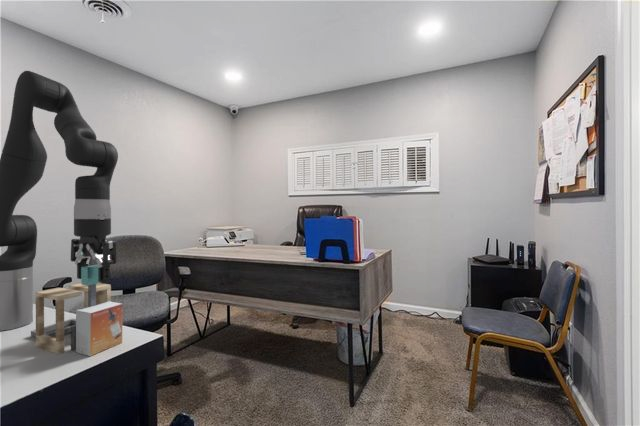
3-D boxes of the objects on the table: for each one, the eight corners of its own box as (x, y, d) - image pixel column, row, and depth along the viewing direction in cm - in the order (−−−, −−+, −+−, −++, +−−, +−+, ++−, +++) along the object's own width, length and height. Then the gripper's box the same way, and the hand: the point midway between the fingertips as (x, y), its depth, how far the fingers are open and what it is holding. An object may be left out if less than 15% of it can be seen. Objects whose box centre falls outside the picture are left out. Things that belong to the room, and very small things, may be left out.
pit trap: (30, 336, 79) (30, 331, 79) (73, 323, 88) (73, 318, 88) (45, 341, 76) (45, 335, 76) (87, 327, 86) (87, 321, 86)
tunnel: (35, 346, 73) (35, 292, 73) (88, 328, 85) (88, 281, 84) (59, 354, 70) (59, 296, 70) (110, 334, 81) (110, 284, 81)
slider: (68, 349, 71) (68, 268, 71) (107, 335, 79) (107, 262, 79) (75, 351, 70) (74, 269, 70) (113, 336, 78) (113, 263, 78)
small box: (89, 357, 68) (89, 313, 68) (75, 352, 70) (74, 310, 70) (123, 342, 76) (123, 303, 76) (109, 339, 78) (109, 300, 78)
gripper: (58, 217, 73) (58, 280, 73) (95, 218, 68) (95, 286, 68) (91, 216, 80) (91, 274, 80) (126, 217, 75) (126, 279, 75)
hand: (93, 279), depth 74 cm, fingers open, 8 cm apart
